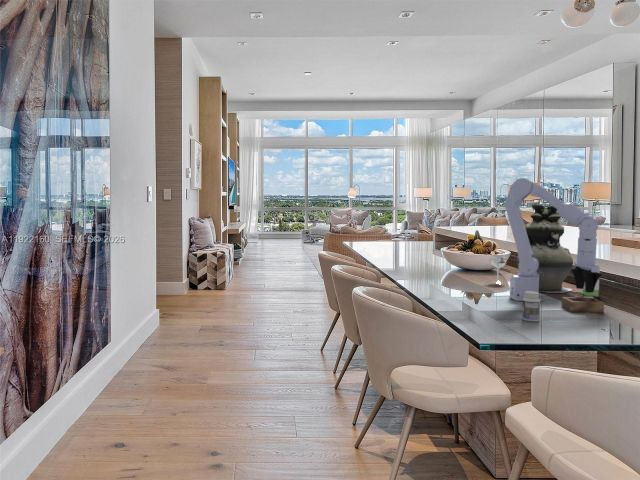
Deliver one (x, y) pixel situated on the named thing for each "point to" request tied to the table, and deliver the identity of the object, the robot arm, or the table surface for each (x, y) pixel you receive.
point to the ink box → (596, 289)
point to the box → (582, 305)
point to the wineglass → (498, 264)
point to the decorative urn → (549, 249)
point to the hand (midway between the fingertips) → (584, 290)
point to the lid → (583, 297)
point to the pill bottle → (531, 306)
